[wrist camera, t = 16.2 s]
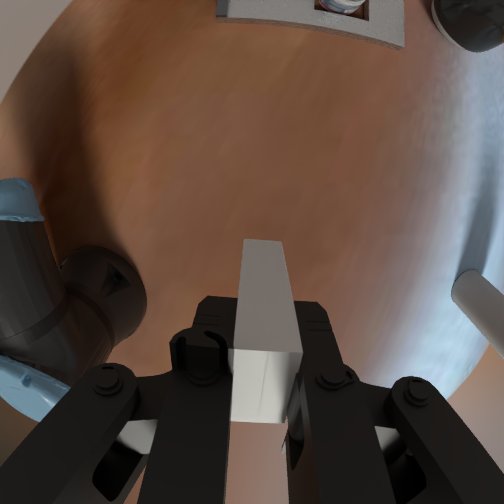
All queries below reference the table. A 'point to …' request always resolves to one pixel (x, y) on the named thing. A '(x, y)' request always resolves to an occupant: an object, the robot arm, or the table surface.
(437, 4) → the pump dispenser
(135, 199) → the table surface
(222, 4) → the jig
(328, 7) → the pill bottle
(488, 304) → the bottle
